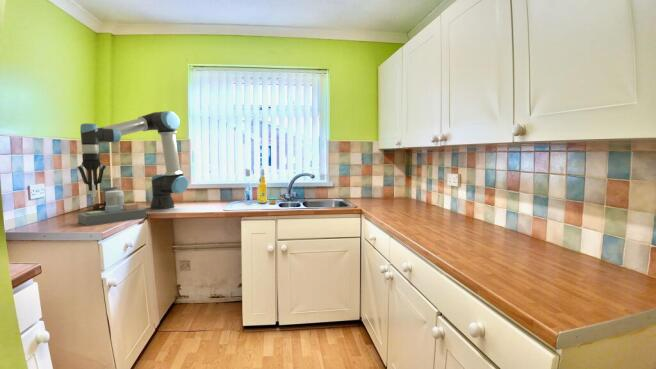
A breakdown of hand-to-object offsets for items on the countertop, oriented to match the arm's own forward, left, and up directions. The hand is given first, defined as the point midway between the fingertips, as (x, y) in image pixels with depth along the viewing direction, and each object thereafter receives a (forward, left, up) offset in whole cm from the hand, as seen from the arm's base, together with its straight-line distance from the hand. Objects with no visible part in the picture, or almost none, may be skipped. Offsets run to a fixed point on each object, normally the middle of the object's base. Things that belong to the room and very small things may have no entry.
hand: (93, 196), depth 188 cm
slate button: (-9, 0, -10) cm, 14 cm away
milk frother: (-20, -47, -15) cm, 53 cm away
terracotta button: (-18, 0, -10) cm, 21 cm away
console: (-9, 0, -14) cm, 17 cm away
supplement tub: (-16, -17, -14) cm, 27 cm away
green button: (0, 0, -12) cm, 12 cm away
